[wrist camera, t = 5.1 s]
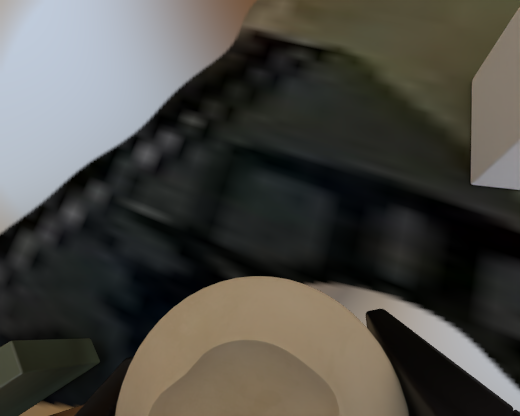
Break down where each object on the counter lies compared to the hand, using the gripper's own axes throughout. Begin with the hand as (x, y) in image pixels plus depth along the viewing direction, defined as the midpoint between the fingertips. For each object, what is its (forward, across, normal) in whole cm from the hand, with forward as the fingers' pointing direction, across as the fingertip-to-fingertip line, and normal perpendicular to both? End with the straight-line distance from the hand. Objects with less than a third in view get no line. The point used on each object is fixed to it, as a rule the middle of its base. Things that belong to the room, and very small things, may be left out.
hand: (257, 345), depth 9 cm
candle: (+4, 0, +6) cm, 7 cm away
